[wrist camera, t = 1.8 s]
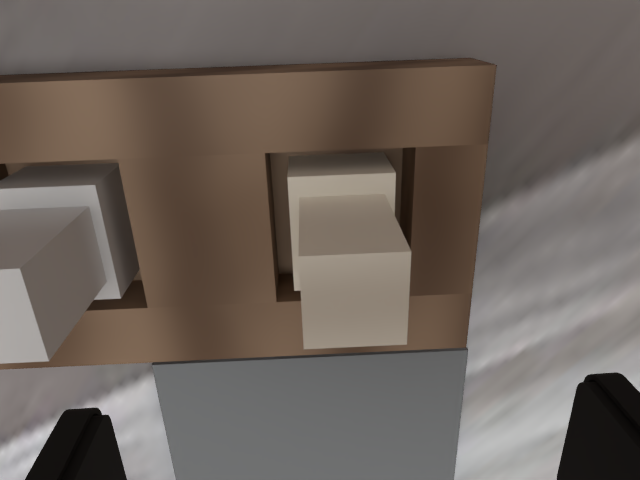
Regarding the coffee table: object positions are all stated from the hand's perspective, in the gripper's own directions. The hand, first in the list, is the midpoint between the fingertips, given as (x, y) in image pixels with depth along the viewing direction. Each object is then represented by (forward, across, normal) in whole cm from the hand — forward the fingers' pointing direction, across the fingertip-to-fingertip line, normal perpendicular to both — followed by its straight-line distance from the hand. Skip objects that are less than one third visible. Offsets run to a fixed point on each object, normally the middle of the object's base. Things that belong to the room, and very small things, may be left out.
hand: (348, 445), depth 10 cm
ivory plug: (+13, -1, 0) cm, 13 cm away
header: (+14, +4, 0) cm, 15 cm away
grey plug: (+14, +10, 0) cm, 17 cm away
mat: (+14, 0, +13) cm, 19 cm away
